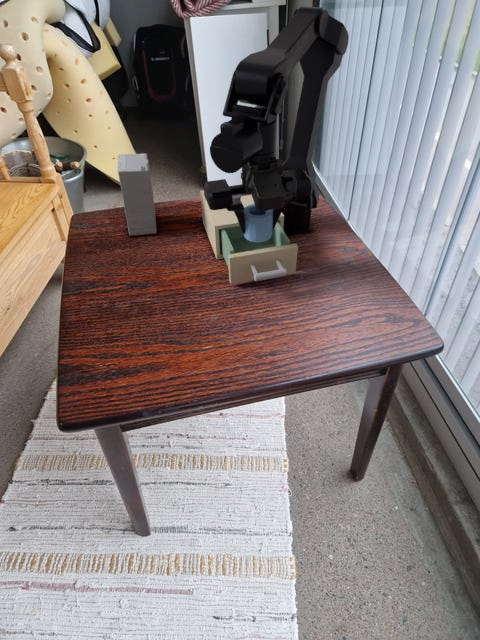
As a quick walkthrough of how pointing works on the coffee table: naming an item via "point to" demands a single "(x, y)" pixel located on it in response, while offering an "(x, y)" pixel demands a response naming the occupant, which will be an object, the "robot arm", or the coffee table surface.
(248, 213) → the jar
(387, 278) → the coffee table surface
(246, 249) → the drawer
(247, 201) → the cabinet
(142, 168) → the cosmetic box
